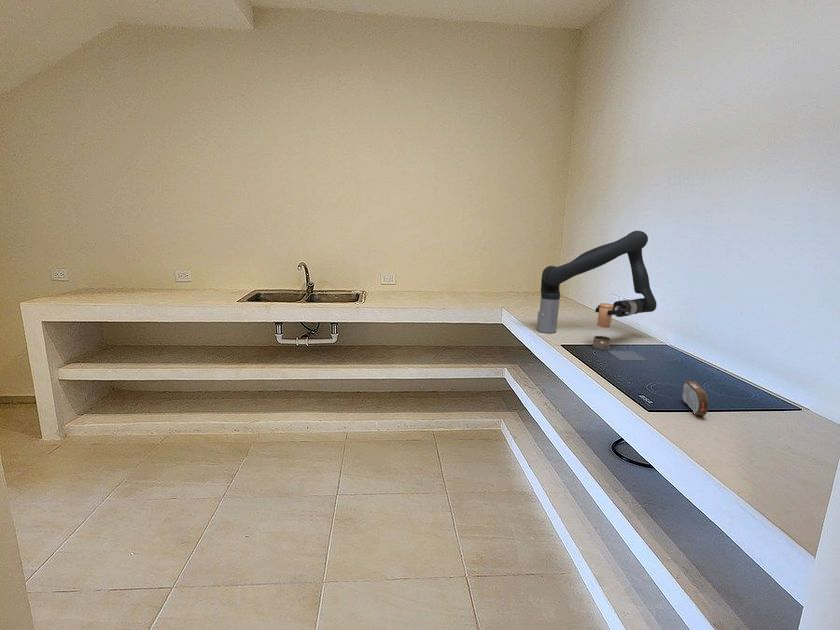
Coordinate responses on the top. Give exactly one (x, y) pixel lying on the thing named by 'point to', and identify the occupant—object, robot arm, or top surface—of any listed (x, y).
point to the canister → (601, 343)
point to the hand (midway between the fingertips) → (602, 311)
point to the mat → (627, 356)
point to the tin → (695, 397)
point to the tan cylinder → (604, 315)
